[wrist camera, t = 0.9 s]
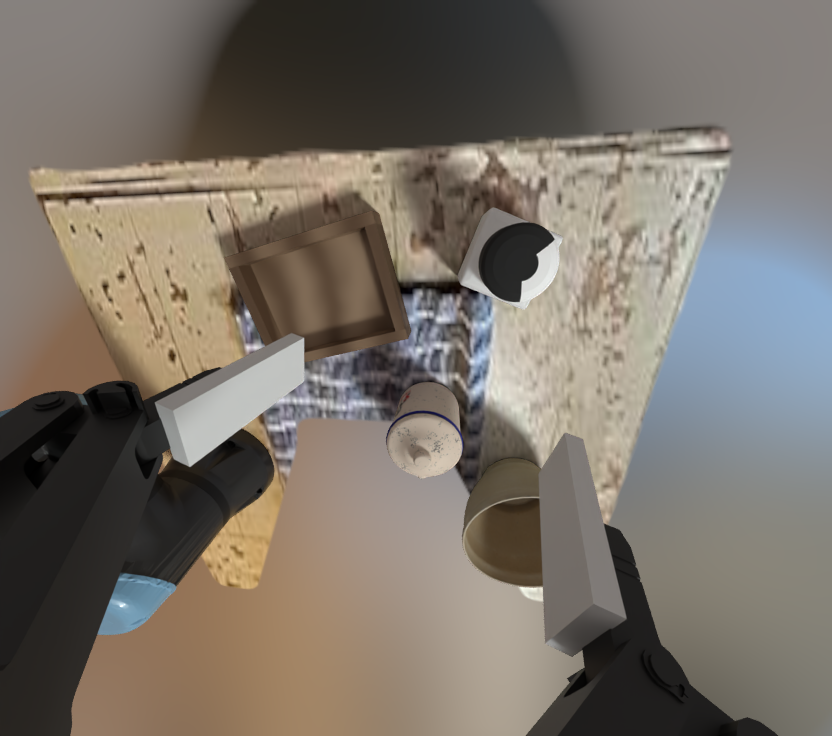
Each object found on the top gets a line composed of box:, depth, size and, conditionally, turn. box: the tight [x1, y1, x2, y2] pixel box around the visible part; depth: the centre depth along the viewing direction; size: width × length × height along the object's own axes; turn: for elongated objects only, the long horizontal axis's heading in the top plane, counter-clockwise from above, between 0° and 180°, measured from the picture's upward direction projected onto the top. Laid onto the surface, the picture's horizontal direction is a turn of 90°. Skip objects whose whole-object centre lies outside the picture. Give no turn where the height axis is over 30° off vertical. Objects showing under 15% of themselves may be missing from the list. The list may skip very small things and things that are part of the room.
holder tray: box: [224, 211, 411, 362], centre depth 36 cm, size 18×14×4 cm
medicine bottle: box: [458, 208, 563, 309], centre depth 28 cm, size 7×7×12 cm
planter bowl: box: [462, 458, 543, 588], centre depth 41 cm, size 16×16×11 cm
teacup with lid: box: [386, 382, 463, 479], centre depth 38 cm, size 12×9×12 cm
